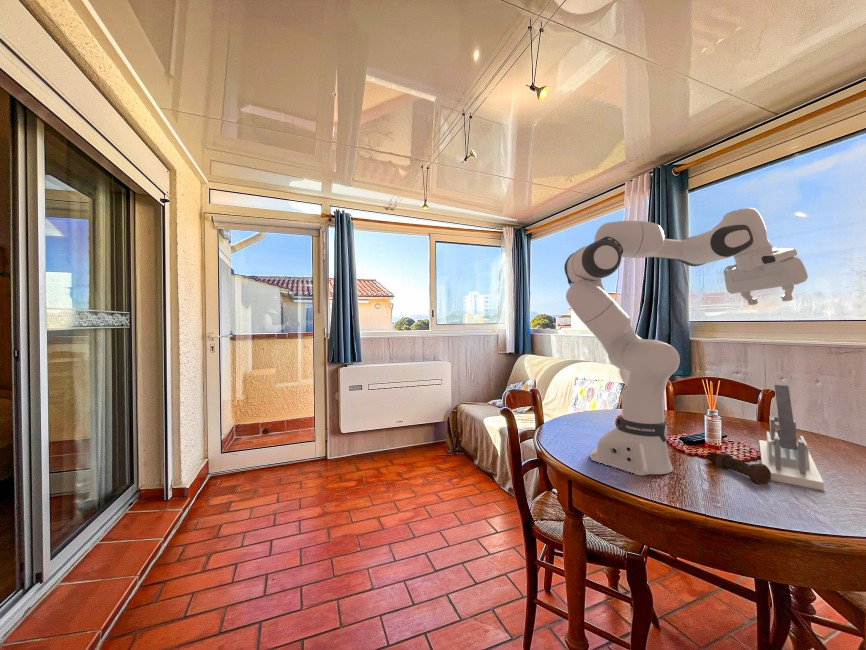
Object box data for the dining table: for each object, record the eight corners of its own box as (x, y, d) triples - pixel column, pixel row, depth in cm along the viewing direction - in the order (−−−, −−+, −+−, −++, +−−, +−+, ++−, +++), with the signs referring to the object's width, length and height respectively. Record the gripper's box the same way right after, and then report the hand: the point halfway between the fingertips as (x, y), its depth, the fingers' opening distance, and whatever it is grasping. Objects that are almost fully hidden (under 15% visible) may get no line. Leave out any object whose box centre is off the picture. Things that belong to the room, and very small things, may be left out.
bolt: (713, 468, 105) (766, 489, 90) (700, 461, 104) (751, 481, 90) (721, 451, 105) (774, 469, 90) (707, 444, 105) (759, 461, 90)
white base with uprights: (763, 478, 93) (761, 437, 93) (759, 445, 117) (758, 413, 117) (824, 490, 86) (821, 446, 86) (806, 452, 109) (805, 418, 109)
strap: (781, 447, 94) (781, 445, 93) (774, 387, 108) (774, 384, 108) (797, 450, 92) (797, 447, 91) (788, 388, 106) (788, 385, 106)
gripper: (714, 270, 113) (727, 309, 113) (784, 254, 93) (801, 301, 93) (729, 264, 114) (743, 303, 114) (803, 247, 94) (819, 294, 94)
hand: (770, 302), depth 103 cm, fingers open, 8 cm apart
